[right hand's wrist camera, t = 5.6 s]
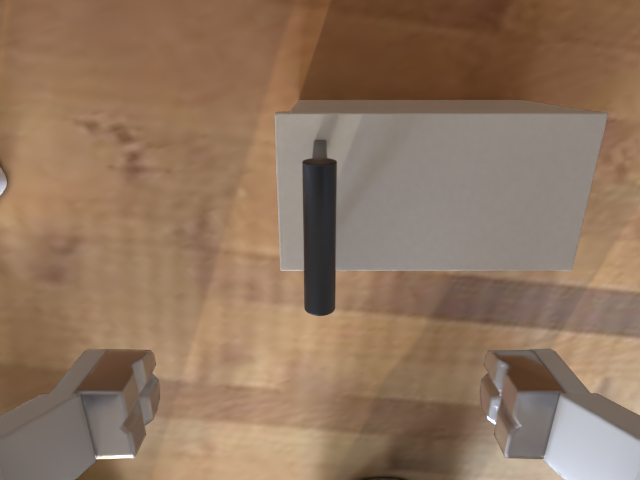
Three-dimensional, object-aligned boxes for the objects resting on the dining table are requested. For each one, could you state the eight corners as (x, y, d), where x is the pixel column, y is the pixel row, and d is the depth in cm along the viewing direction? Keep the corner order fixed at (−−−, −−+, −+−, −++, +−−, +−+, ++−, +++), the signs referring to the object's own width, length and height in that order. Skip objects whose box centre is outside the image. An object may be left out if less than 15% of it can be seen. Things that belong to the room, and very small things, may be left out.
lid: (281, 263, 29) (266, 340, 21) (276, 111, 25) (255, 131, 17) (563, 263, 28) (658, 340, 20) (597, 111, 25) (727, 131, 17)
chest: (300, 216, 38) (293, 263, 29) (298, 100, 34) (289, 111, 25) (504, 215, 38) (563, 263, 29) (522, 99, 34) (596, 111, 25)
